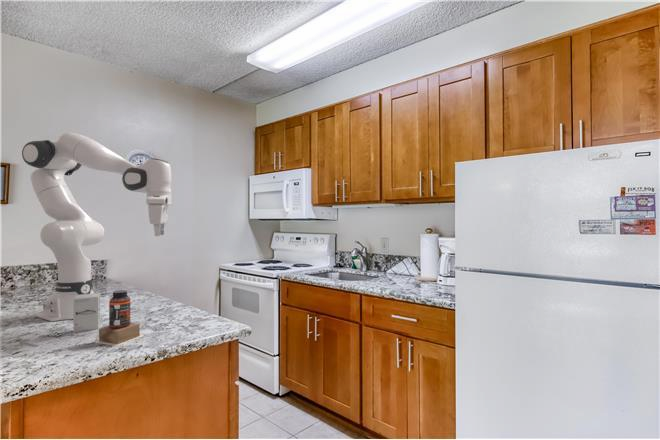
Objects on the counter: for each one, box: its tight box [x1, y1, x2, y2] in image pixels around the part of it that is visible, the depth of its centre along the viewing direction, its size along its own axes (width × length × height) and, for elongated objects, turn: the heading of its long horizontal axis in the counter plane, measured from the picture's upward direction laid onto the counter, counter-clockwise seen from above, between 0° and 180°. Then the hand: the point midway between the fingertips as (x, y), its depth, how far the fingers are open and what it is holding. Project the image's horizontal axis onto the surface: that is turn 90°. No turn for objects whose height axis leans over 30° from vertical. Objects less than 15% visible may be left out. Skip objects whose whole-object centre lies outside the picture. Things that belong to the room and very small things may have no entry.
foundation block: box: [98, 322, 141, 344], centre depth 114 cm, size 8×8×4 cm
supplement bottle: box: [108, 289, 132, 328], centre depth 115 cm, size 6×6×11 cm
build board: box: [93, 334, 145, 347], centre depth 116 cm, size 18×14×1 cm
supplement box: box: [72, 292, 101, 334], centre depth 126 cm, size 7×7×13 cm
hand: (159, 235), depth 139 cm, fingers open, 8 cm apart
